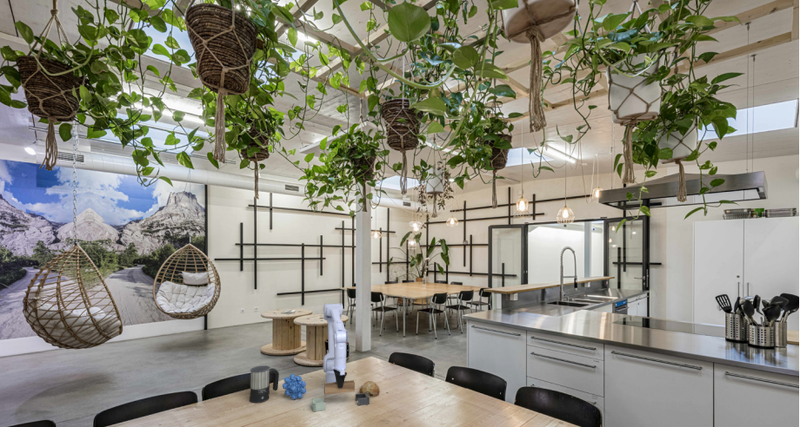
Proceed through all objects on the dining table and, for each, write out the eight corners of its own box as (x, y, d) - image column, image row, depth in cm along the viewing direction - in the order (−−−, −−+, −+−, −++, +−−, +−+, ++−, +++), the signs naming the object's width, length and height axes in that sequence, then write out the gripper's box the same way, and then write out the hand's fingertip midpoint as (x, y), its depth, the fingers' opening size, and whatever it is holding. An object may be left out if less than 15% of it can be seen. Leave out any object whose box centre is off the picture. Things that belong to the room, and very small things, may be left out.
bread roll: (360, 405, 185) (361, 392, 182) (357, 389, 194) (358, 377, 192) (380, 402, 188) (381, 390, 185) (376, 387, 197) (377, 375, 194)
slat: (324, 392, 176) (324, 383, 177) (353, 388, 181) (353, 380, 181) (324, 394, 173) (325, 385, 173) (354, 391, 177) (354, 382, 178)
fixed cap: (355, 400, 182) (355, 394, 182) (366, 399, 183) (366, 392, 184) (358, 405, 175) (358, 399, 176) (369, 404, 177) (369, 397, 177)
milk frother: (256, 405, 176) (257, 372, 177) (236, 397, 185) (238, 366, 186) (281, 395, 188) (282, 365, 189) (261, 388, 196) (262, 359, 198)
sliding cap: (311, 405, 175) (311, 398, 175) (323, 404, 177) (323, 397, 177) (312, 411, 169) (313, 404, 169) (325, 409, 170) (325, 402, 171)
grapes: (279, 403, 178) (280, 377, 179) (283, 397, 184) (283, 372, 186) (304, 402, 179) (305, 376, 180) (307, 397, 185) (307, 372, 187)
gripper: (329, 353, 184) (329, 381, 183) (333, 361, 170) (333, 392, 169) (343, 352, 186) (343, 380, 185) (349, 360, 173) (348, 390, 171)
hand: (339, 386), depth 177 cm, fingers closed on slat, 3 cm apart
